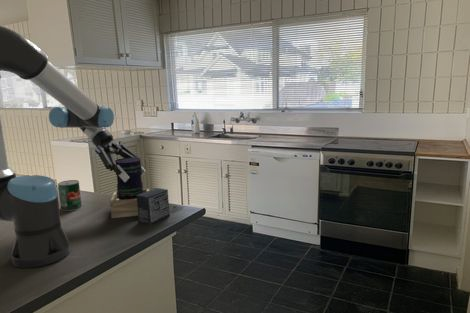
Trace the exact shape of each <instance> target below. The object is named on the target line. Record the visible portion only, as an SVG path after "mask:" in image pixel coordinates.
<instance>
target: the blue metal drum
mask: <svg viewBox="0 0 470 313" xmlns="http://www.w3.org/2000/svg"><path fill="white" fill-rule="evenodd" d="M141 161H142V158H140V157H137V158H134V157H131V158H123V157H121V158H118V159H115V162H116V166H117V165H119V166H120V167H121V168H122V169H123V170H124V171H125V172H126V174H127V175H128V176H129V177H130V178H129V179H128V180H127V181H126V182H124V181H123V180H122V179H121V178H120V176H119V175H117V174H116V173H115V175H116V179H117V180H116V181H117V184H116V191H117V192H118V199H120V200H126V199H137V197H136V195H138V194H141V193H143V189H144V184H143V181H142V179H143V178H142V176H141V173H142V170H141V168H142V167H143V166H142V162H141ZM141 166H142V167H141Z"/></svg>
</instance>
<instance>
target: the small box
mask: <svg viewBox="0 0 470 313" xmlns="http://www.w3.org/2000/svg"><path fill="white" fill-rule="evenodd" d="M168 191H169V190H168V188H167V189H165V188H159V187H155V188H152V189H149V191H147V192H144V193H141V194H138V195H136V197H137V207H138V216H137V217H138V223H142V224H146V225H150V226H151V225H153V224H155V223H157V222H159V221H161V220H164V219H166V218H168V217H170V214H171V213H170V204H169V203H170V202H169V201H170V200H169V192H168Z"/></svg>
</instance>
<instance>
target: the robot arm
mask: <svg viewBox="0 0 470 313" xmlns="http://www.w3.org/2000/svg"><path fill="white" fill-rule="evenodd" d="M1 71H2V72H9V73H12V74H15V75H16V76H18V77H19V78H20V79H22V80H25V81H31V83H33V84H34V85H36V86H38V88H40V89H41V90H42V91H43V92H45V93H46V94H48V95H49V96H50V97H51V98H53V99H54V100H55V101H57V102H58V103H60V104H61V105H62V106H55V107H53V108H51V110H50V111H49V114H48V121H49V123H50V124H51V125H52V126H53V127H55V128H60V129H64V128H75V129H76V128H79V129H80V130H81V131H82V132H83V134H84V135H85V136H86V137H87V138H88V139H89V140H90V141H91V143H92V144H93V145H94V146H95V147H96V148H95V150H94V152H95V153H96V154H97V155H98V157H99V158H100V160H101V162H102V163H103V166H104V167H105V169H106V170H109V171H110V172H112V171H113V172H114V173H115V175H116V174H117V175H119V176H120V178H121V179H122V180H123V181H124V182H126V181H127V180H128V179H129V178H130V177H129V176H128V175H127V174H126V172H125V171H124V170H123V169H122V168H121V167H120V166H119V165H117V166H116V162H115V160H116V158H115V156H114V155H116V156H120V157H121V158H131V157H134V158H139V156H138V155H137V154H136V153H135V152H134V151H133V150H131V149H130V148H129V147H128V146H126V145H125V144H124V143H123V141H121V140H119V141H118V142H116V141H115V140H114V136H113V134H112V133H110V131H109V130H108V129H107V128H110V127H112V125H113V123H114V120H115V114H114V110H112V108H110V107H108V106H105V105H103V106H99V104H98V103H97V102H95V100H94V99H92V98H91V97H89V96H88V95H87V94H86V93H85V92H84V91H83V90H82V89H81V88H80V87H78V85H76V84H75V83H74V81H71V79H70V78H68V77H67V76H66V75H65V73H63V72H62V71H60V70H59V69H58V68H57V67H56V66H55V65H54V64H52V63H51V62H50V60H49V57H48V55H47V53H45V52H44V51H43V50H42V49H41V48H40V47H38V45H37V44H35V43H33V42H32V41H31V40H29V39H28V38H27V37H25V36H23V35H21V34H20V33H18V32H17V31H14V30H12V29H9V28H7V27H5V26H2V25H0V72H1ZM1 79H2V76H1V75H0V80H1ZM1 118H2V117H1V116H0V221H2V222H13V227H14V232H15V234H14V235H15V236H14V241H13V246H12V250H11V255H10V256H11V262H12V265H13V266H14V267H15V268H21V269H23V268H24V269H31V268H32V269H33V268H39V267H43V266H47V265H51V264H54V263H56V262H58V261H61V260H62V259H64V258H65V257H67V256H68V255H69V254H70V253H71V250H72V249H71V243H70V240H69V238H68V236H67V235H66V233H65V230H64V228H62V223H61V213H60V205H59V202H60V201H59V195H58V194H59V191H58V190H57V189H58V188H57V186H56V181H55V180H54V179H53V178H51V177H49V176H45V175H38V174H33V175H27V174H25V175H20V176H16V171H15V170H14V169H12V168H10V167H9V162H8V156H7V151H6V145H5V138H4V132H3V131H4V130H3V125H2V124H3V123H2V119H1ZM141 167H142V168H141V170H142V173H141V177H142V176H143V175H144V174H145V173H146V172H147V170H146V169H145V168H144V166H143V165H141ZM117 175H116V176H117Z"/></svg>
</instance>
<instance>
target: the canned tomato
mask: <svg viewBox="0 0 470 313" xmlns="http://www.w3.org/2000/svg"><path fill="white" fill-rule="evenodd" d="M57 187H58V188H57V189H58V194H59V195H58V197H59V202H60V210H61V211H64V212H71V211H76V210H79V209H81V208H83V206H82V197H81V189H80V188H81V187H80V181H79V180H78V179H70V180H69V179H68V180H63V181H59V182H58V183H57Z"/></svg>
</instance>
